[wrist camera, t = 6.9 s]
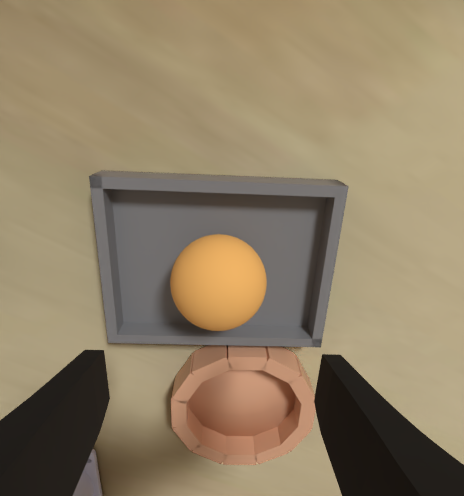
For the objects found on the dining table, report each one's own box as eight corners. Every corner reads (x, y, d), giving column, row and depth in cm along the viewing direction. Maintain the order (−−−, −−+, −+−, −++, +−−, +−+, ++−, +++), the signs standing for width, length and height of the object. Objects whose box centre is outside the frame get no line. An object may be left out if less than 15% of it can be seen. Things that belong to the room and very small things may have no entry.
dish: (299, 440, 26) (305, 465, 24) (176, 438, 26) (173, 464, 24) (316, 338, 23) (324, 358, 21) (174, 335, 22) (169, 355, 20)
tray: (313, 329, 22) (320, 347, 21) (117, 325, 22) (107, 342, 20) (337, 180, 19) (348, 186, 17) (101, 170, 18) (89, 175, 16)
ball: (260, 299, 21) (269, 352, 16) (179, 299, 21) (165, 351, 16) (264, 222, 19) (275, 256, 14) (175, 221, 19) (158, 255, 14)
